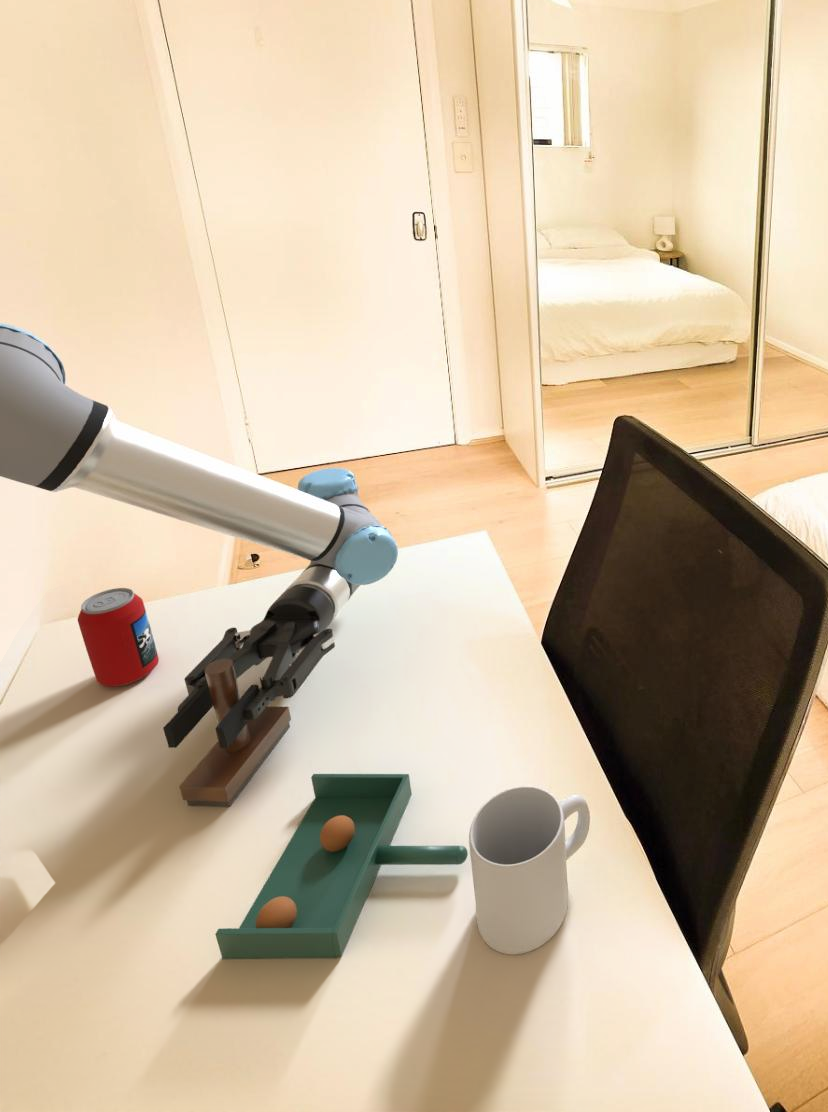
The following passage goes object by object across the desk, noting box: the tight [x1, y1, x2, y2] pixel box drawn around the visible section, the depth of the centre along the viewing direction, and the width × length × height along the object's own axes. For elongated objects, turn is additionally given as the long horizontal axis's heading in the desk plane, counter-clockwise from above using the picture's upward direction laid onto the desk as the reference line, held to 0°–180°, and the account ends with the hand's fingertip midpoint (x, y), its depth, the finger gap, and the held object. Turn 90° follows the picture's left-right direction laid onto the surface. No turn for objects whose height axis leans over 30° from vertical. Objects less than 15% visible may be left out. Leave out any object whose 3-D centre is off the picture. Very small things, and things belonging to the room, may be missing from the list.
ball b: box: [320, 815, 355, 852], centre depth 71 cm, size 3×3×3 cm
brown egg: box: [256, 896, 297, 928], centre depth 63 cm, size 3×3×3 cm
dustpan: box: [214, 773, 469, 960], centre depth 69 cm, size 19×17×3 cm
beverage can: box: [77, 587, 160, 687], centre depth 92 cm, size 7×7×12 cm
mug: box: [468, 785, 591, 955], centre depth 65 cm, size 12×8×11 cm
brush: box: [178, 659, 292, 808], centre depth 79 cm, size 5×12×14 cm, turn 179°
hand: (195, 737), depth 73 cm, fingers open, 5 cm apart
